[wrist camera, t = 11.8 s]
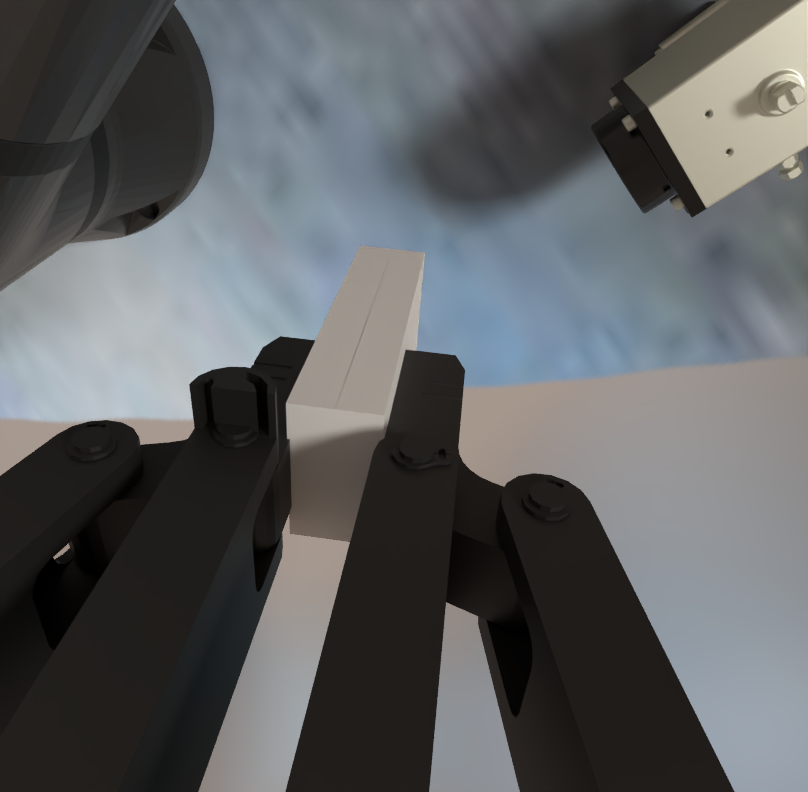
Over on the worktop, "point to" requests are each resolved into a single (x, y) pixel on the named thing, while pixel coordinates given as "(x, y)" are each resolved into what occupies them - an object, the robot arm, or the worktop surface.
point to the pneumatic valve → (713, 106)
